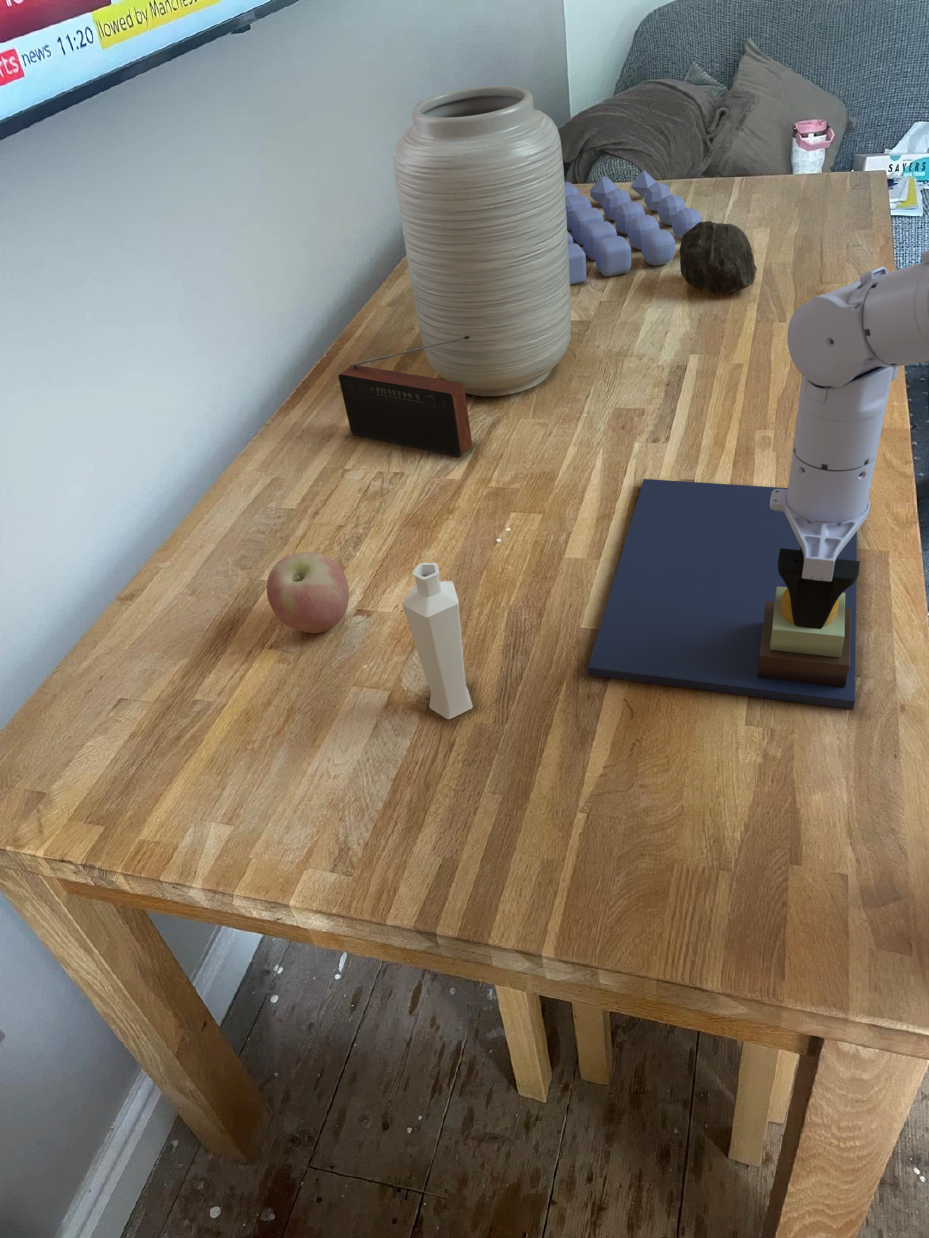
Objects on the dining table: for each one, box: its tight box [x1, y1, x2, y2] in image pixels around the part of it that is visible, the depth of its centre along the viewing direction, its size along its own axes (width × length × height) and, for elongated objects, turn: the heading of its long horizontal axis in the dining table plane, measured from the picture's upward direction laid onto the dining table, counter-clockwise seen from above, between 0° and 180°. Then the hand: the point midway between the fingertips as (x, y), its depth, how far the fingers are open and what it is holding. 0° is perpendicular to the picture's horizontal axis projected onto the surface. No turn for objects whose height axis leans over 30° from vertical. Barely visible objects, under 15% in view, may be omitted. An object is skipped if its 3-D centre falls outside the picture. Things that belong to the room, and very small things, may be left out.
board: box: [587, 478, 858, 710], centre depth 90 cm, size 30×22×1 cm
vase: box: [393, 84, 572, 398], centre depth 118 cm, size 20×20×34 cm
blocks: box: [564, 169, 703, 286], centre depth 159 cm, size 35×34×5 cm
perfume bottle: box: [401, 562, 474, 720], centre depth 78 cm, size 5×4×15 cm
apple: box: [266, 551, 350, 634], centre depth 91 cm, size 8×8×8 cm
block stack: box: [757, 586, 851, 688], centre depth 79 cm, size 7×7×5 cm
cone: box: [781, 588, 839, 628], centre depth 76 cm, size 4×4×6 cm
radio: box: [337, 336, 473, 458], centre depth 112 cm, size 19×3×15 cm, turn 60°
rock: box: [678, 220, 758, 296], centre depth 138 cm, size 10×11×10 cm
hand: (812, 593), depth 76 cm, fingers open, 7 cm apart
